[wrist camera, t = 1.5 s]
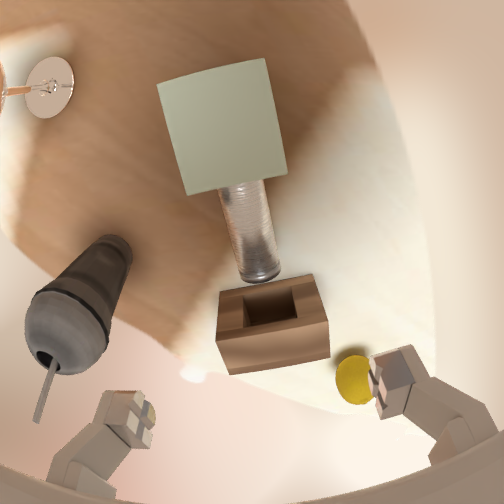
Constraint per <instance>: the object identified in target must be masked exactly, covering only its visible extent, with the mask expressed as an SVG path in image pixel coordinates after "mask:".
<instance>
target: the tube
mask: <svg viewBox="0 0 504 504" xmlns="http://www.w3.org/2000/svg"><path fill="white" fill-rule="evenodd" d="M217 190H218V194H219V198H220V202H221V205H222V209H223V213H224V217H225V221H226V224H227V228H228V232H229V235H230V239H231V243H232V247H233V250H234V254H235V258H236V261H237V265H238V269H239V273H240V277H241V279H242V280H243V281H245V282H247V283H253V284H257V283H263V282H267V281H269V280H272V279H273V278H275V277H276V276H277V275H278V274H279V273H280V271H281V266H280V261H279V257H278V252H277V247H276V241H275V236H274V231H273V226H272V221H271V216H270V211H269V206H268V201H267V196H266V192H265V187H264V182H263V179H261V180H256V181H251V182H246V183H241V184H237V185H232V186H228V187H223V188H219V189H217Z"/></svg>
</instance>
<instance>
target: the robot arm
mask: <svg viewBox="0 0 504 504" xmlns="http://www.w3.org/2000/svg"><path fill="white" fill-rule="evenodd" d="M369 364H370V367H371V369H370V370H369V371H368V382H369V387H370V391H371V394H372V396H374V397H375V398H377V399H376V408H377V411H378V414H379V417H380V420H383V419H387V418H390V417H394V416H397V415H400V414H403V415H404V416H405V417H407V418H408V419H409V420H410V421H412V422H413V423H414V424H416V425H417V426H418V427H419V428H421V429H422V430H423V431H425V432H426V433H427V434H428V435H430V436H431V437H432V438H434V439H435V440H436V441H437V442H436V444H435V445H434V447H433V448H432V450H431V452H430V453H429V455H428V457H429V460H430V463H431V466H430V467H428V468H425V469H423V470H420V471H417V472H415V473H412V474H410V475H407V476H404V477H401V478H398V479H395V480H392V481H389V482H386V483H383V484H379V485H376V486H373V487H369V488H365V489H361V490H357V491H354V492H350V493H345V494H341V495H336V496H332V497H327V498H321V499H316V500H310V501H304V502H297V503H290V504H504V430H502V431H500V432H499V431H498V429H497V427H496V425H495V423H494V421H493V419H492V418H491V416H490V414H489V412H488V410H487V408H486V406H485V404H483V403H482V402H480V401H478V400H476V399H474V398H472V397H471V396H469V395H467V394H465V393H463V392H461V391H459V390H457V389H456V388H454V387H452V386H450V385H448V384H447V383H445V382H443V381H441V380H439V379H438V378H436V377H431V378H430V376H429V374H428V372H427V370H426V368H425V367H424V365H423V363H422V361H421V359H420V357H419V356H418V354H417V352H416V350H415V348H414V347H413V346H412V345H411V344H410V345H406V346H403V347H400V348H395V349H392V350H389V351H386V352H382V353H379V354H375V355H372V356H370V358H369ZM144 398H145V395H144V394H143V393H142V392H141V391H113V390H112V391H111V390H108V391H107V390H106V391H105V392H104V393H103V394H102V397H101V399H100V402H99V405H98V408H97V411H96V414H95V417H94V419H93V422H92V423H89V424H88V425H87V426H86V427H85V428H84V429H83V430H81V431H80V432H79V433H78V434H77V435H76V436H75V437H74V438H73V439H72V440H71V441H70V442H68V443H67V444H66V445H65V446H64V447H63V448H62V449H61V450H60V451H59V452H58V453H56V454H55V455H54V457H53V460H52V463H51V466H50V469H49V472H48V476H47V479H46V481H43V480H41V479H37V478H35V477H32V476H29V475H27V474H24V473H21V472H19V471H16V470H14V469H12V468H9V467H7V466H5V465H2V464H0V504H143V503H135V502H129V501H123V500H117V499H115V496H116V488H115V487H114V486H113V485H111V484H110V483H108V482H107V480H108V479H109V477H110V476H111V475H112V473H113V472H114V471H115V470H116V468H117V467H118V466H119V465H120V463H121V462H122V461H123V459H124V458H125V457H126V456H127V454H128V453H129V452H130V450H131V449H130V448H136V449H150V445H151V441H152V433H151V431H150V429H151V428H152V427H153V426H154V425H155V419H156V417H155V410H154V408H153V406H152V405H151V403H149V402H148V401H146V400H144Z"/></svg>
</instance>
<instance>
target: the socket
mask: <svg viewBox="0 0 504 504" xmlns="http://www.w3.org/2000/svg"><path fill="white" fill-rule="evenodd" d="M215 342H216V344H217V346H218V349H219V351H220V354H221V356H222V358H223V361H224V363H225V365H226V368H227V370H228V372H229V375H235V374H242V373H249V372H256V371H262V370H269V369H275V368H280V367H286V366H292V365H297V364H302V363H307V362H312V361H317V360H322V359H326V358H330V340H329V325H328V319H327V316H326V313H325V310H324V307H323V304H322V301H321V298H320V295H319V292H318V289H317V286H316V283H315V280H314V277H313V275H312V274H310V275H305V276H300V277H295V278H290V279H285V280H280V281H275V282H270V283H265V284H259V285H254V286H249V287H243V288H238V289H232V290H227V291H221V292H220V296H219V306H218V317H217V328H216V340H215Z"/></svg>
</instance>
